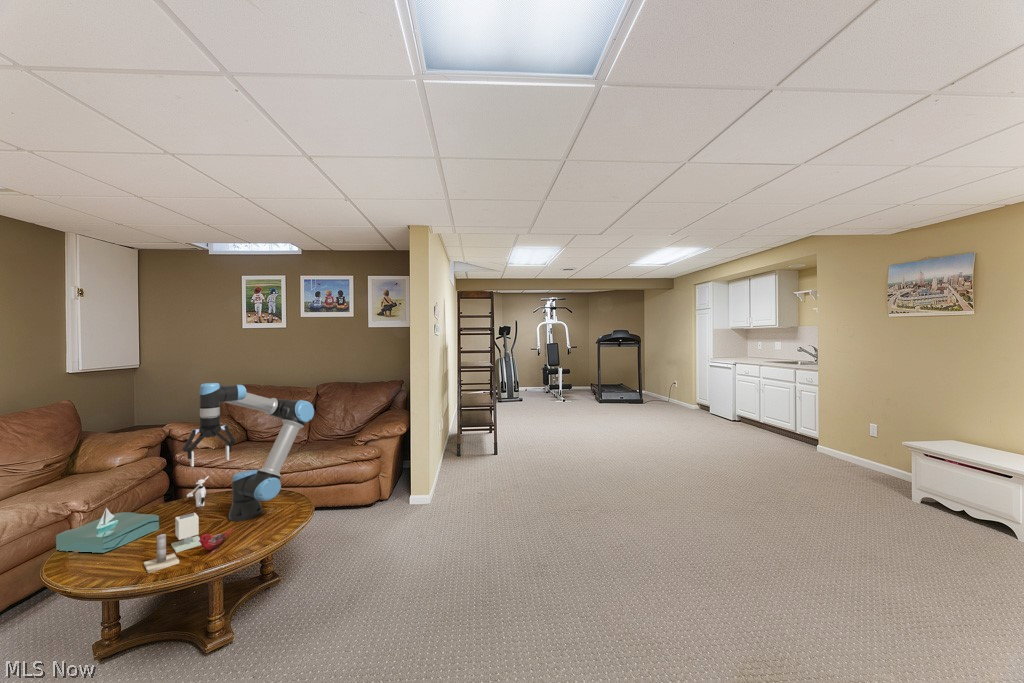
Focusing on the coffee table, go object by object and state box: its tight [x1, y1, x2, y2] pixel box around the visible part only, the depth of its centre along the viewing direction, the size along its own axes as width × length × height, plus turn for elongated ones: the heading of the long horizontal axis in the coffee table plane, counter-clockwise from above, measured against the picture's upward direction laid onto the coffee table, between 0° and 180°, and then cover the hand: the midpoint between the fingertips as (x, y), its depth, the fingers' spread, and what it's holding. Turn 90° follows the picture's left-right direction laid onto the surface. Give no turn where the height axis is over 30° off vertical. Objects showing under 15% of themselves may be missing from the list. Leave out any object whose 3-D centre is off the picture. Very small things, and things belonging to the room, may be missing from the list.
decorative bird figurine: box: [199, 527, 235, 555], centre depth 188 cm, size 3×18×10 cm, turn 167°
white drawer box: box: [174, 512, 200, 541], centre depth 193 cm, size 7×7×9 cm
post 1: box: [143, 533, 180, 574], centre depth 177 cm, size 10×10×12 cm
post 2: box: [171, 535, 202, 554], centre depth 193 cm, size 10×10×12 cm
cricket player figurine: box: [186, 475, 210, 508], centre depth 239 cm, size 13×10×15 cm
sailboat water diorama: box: [55, 507, 160, 554], centre depth 200 cm, size 25×25×16 cm
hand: (210, 462), depth 196 cm, fingers open, 13 cm apart
